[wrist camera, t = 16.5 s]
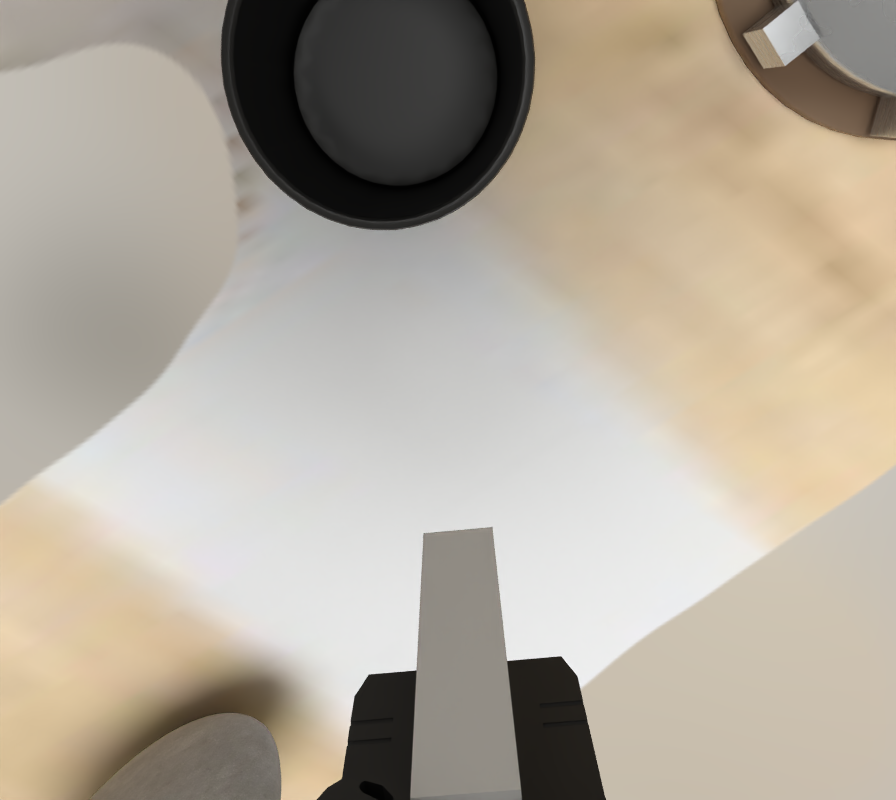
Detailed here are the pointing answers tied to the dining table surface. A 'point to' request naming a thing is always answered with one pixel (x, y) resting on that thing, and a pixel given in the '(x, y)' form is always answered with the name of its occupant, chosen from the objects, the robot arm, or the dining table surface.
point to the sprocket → (836, 45)
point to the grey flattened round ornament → (203, 764)
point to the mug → (379, 100)
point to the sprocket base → (801, 78)
